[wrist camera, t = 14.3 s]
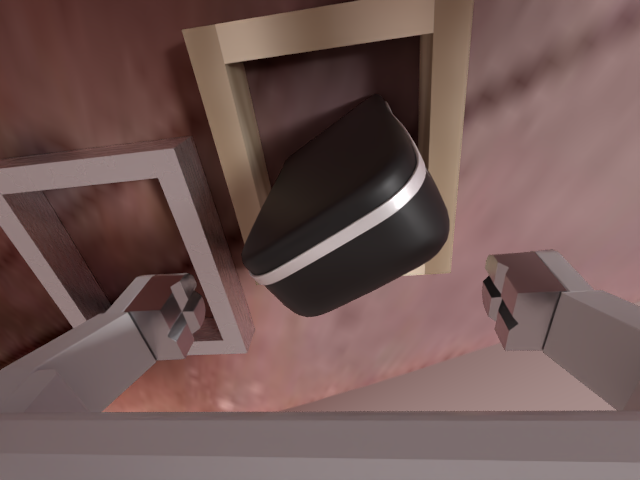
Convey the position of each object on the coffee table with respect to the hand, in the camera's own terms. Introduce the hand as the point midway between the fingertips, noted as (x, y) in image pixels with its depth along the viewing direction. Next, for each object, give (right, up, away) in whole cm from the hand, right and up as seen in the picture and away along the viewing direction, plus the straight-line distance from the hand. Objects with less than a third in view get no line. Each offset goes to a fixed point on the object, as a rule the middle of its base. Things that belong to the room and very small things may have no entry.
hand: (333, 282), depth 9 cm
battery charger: (+1, +6, +11) cm, 12 cm away
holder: (-13, 0, +15) cm, 20 cm away
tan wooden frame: (+1, +6, +10) cm, 12 cm away
